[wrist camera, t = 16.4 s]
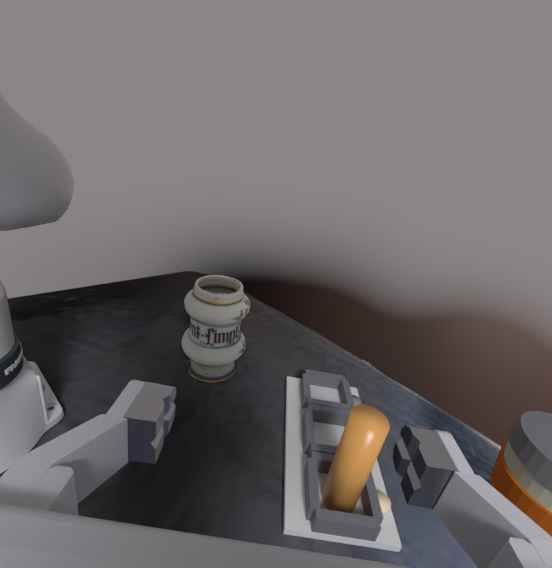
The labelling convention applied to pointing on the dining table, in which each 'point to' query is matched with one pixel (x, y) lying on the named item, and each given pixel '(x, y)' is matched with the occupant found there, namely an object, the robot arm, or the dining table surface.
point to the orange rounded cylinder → (354, 458)
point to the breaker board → (328, 467)
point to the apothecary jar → (214, 327)
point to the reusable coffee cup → (528, 468)
